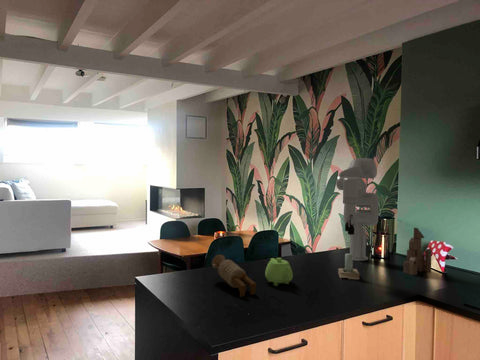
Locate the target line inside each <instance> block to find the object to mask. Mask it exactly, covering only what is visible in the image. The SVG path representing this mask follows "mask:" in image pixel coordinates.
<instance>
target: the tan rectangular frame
mask: <svg viewBox="0 0 480 360" xmlns="http://www.w3.org/2000/svg"><path fill="white" fill-rule="evenodd" d="M337 272H338V276H339V279H341V278H348V279H347V280H360V272H359V271H358V269H357V268H353V272H345V267H344V268H341V267H340V268H338V271H337Z"/></svg>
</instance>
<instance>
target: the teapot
mask: <svg viewBox="0 0 480 360" xmlns="http://www.w3.org/2000/svg"><path fill="white" fill-rule="evenodd" d="M266 265H267V266H266V268H265V272H264V274H265V275H264V276H265V278H266V280H267V281H268V283H273V284H272V285H273V286H275V287H278V286H279V284H283V285H286V284H289V285H290V282H291V281H292V280H293V278H294V273H293V270H292V266H291V265H290V262H288V261H287V260H285V259H282V257H277V258H274V257H273V258H270V260H269V261H268V263H267V264H266Z"/></svg>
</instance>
